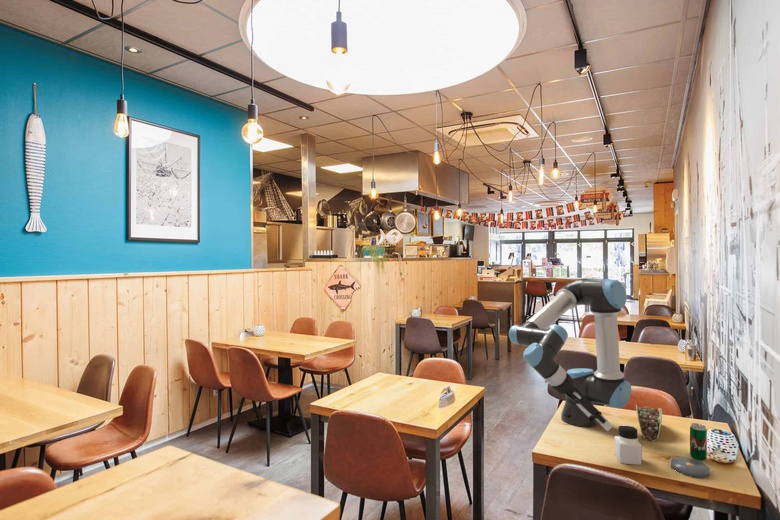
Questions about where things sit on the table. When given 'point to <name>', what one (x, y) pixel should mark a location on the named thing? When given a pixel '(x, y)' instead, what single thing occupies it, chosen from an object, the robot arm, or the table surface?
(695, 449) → the soda can
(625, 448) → the medicine bottle
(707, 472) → the disc
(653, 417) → the taco
